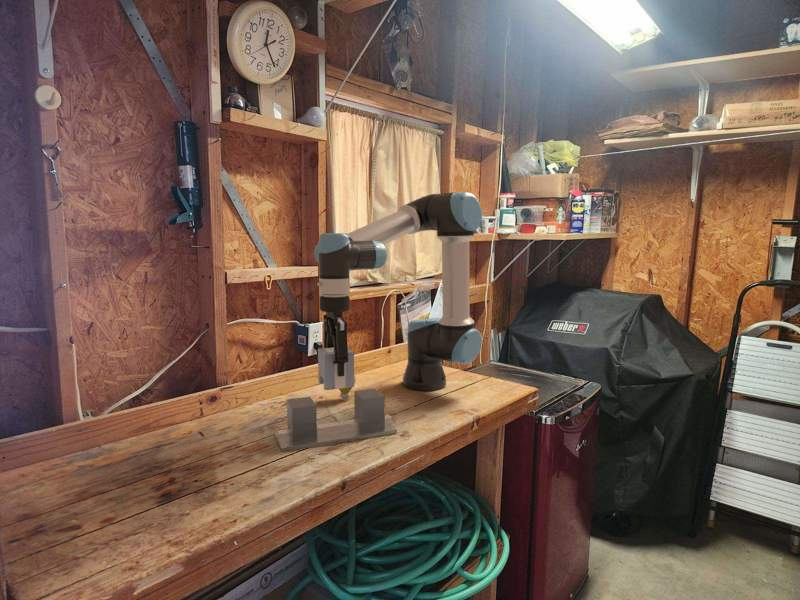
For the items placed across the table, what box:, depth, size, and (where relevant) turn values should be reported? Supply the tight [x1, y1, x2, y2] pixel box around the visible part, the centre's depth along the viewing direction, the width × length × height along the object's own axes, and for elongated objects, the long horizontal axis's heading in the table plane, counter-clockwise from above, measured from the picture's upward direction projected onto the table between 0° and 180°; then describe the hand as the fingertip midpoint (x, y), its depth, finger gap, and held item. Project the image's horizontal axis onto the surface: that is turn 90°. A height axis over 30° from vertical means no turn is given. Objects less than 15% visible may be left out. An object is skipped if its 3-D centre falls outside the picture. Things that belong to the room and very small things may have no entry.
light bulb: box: [338, 373, 357, 402], centre depth 156 cm, size 7×7×10 cm
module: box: [317, 347, 355, 391], centre depth 127 cm, size 8×7×9 cm
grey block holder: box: [274, 388, 398, 453], centre depth 129 cm, size 30×10×10 cm, turn 113°
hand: (335, 383), depth 127 cm, fingers closed on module, 7 cm apart
